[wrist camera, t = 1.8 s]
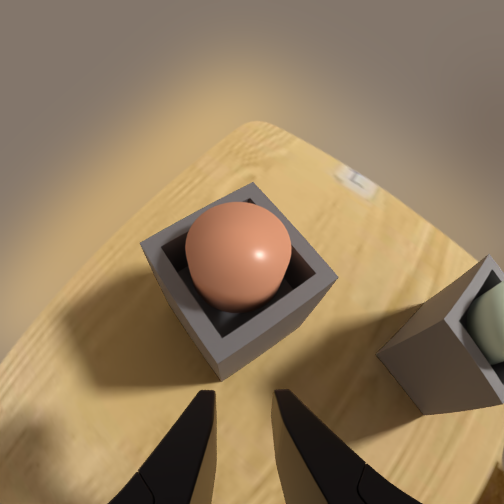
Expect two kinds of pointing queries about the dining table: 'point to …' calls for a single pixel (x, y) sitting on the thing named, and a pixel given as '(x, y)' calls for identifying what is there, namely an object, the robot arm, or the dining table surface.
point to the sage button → (488, 323)
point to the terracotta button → (237, 256)
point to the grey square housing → (238, 324)
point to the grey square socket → (447, 349)
